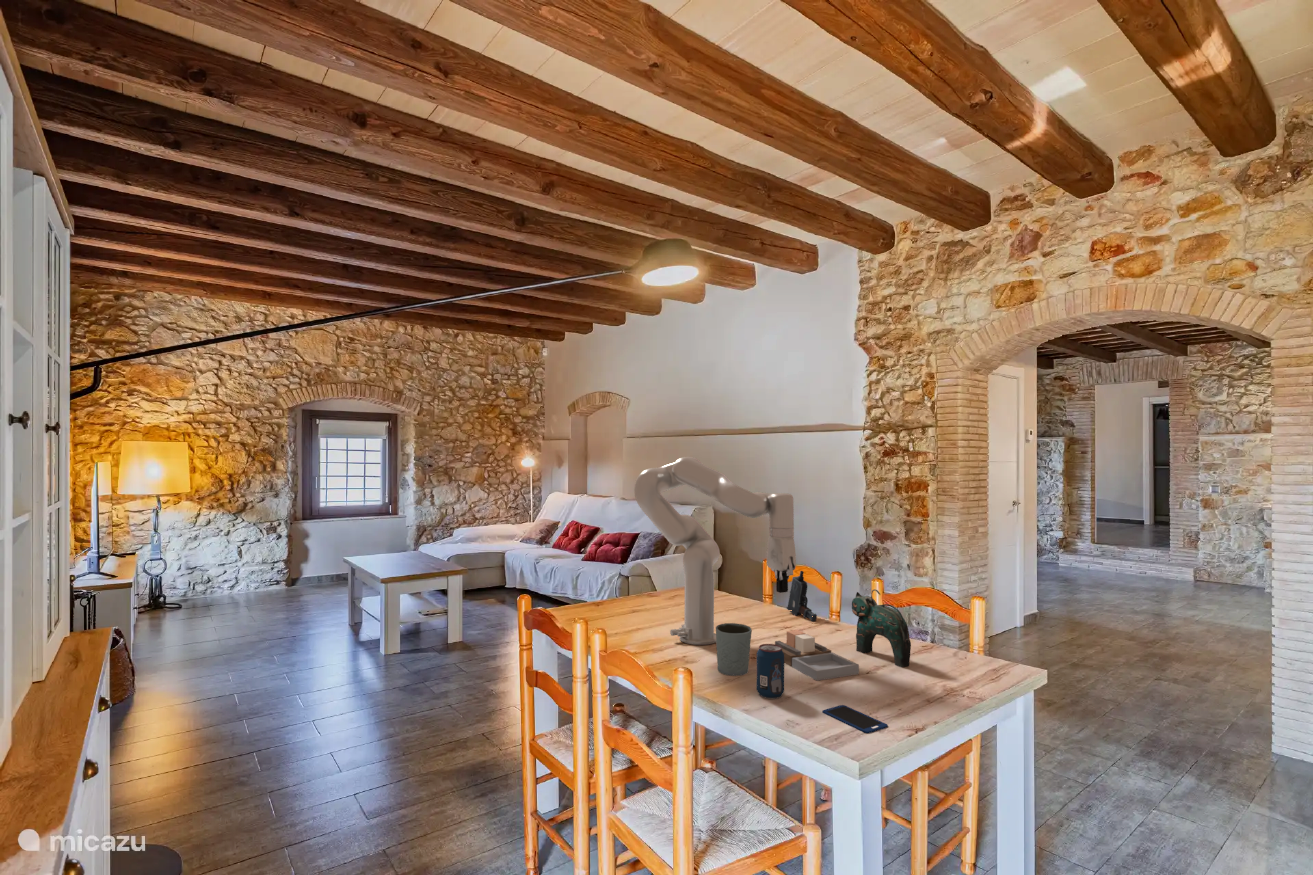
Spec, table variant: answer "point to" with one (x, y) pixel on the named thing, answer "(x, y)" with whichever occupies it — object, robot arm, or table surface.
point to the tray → (825, 666)
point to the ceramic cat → (881, 627)
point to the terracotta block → (792, 637)
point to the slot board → (799, 652)
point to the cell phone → (855, 719)
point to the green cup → (733, 648)
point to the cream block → (805, 643)
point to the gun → (800, 598)
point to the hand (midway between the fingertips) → (782, 591)
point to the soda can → (770, 671)
